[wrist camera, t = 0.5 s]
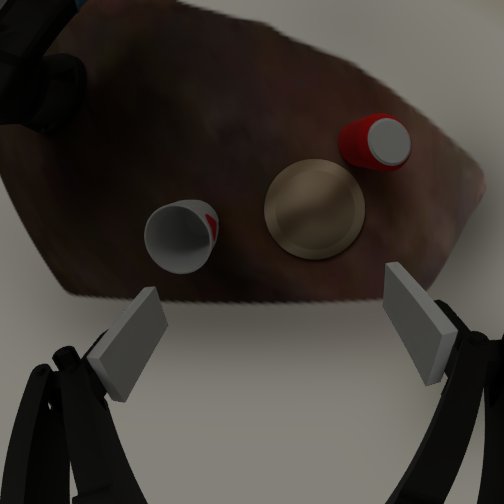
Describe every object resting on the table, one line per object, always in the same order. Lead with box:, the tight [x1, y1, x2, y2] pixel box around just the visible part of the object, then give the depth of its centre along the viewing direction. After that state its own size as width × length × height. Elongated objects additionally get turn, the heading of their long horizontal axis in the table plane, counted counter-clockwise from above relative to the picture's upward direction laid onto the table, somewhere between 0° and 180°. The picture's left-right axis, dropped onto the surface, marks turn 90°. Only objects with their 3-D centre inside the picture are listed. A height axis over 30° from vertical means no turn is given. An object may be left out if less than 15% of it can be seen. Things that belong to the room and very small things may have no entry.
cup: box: [144, 200, 219, 274], centre depth 35 cm, size 8×8×10 cm
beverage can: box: [338, 113, 411, 172], centre depth 28 cm, size 6×6×12 cm
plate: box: [264, 159, 365, 259], centre depth 37 cm, size 14×14×1 cm
